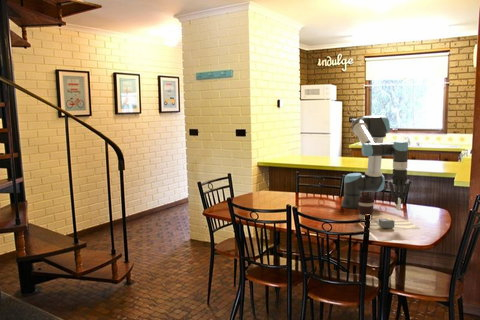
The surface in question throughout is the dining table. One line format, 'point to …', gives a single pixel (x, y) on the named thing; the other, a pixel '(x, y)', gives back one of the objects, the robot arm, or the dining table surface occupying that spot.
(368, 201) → the coffee cup
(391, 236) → the dining table surface
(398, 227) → the subfloor panel
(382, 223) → the block
